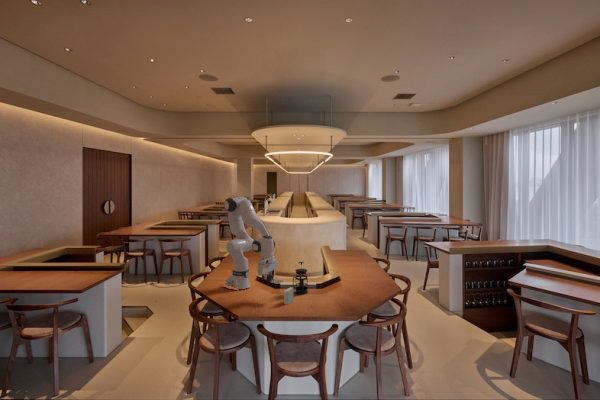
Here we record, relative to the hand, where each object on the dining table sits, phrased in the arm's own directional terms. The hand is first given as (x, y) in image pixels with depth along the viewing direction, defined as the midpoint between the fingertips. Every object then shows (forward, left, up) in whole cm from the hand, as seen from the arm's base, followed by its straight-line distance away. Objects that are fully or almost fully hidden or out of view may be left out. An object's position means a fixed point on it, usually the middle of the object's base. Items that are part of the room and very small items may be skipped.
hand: (267, 278), depth 219 cm
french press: (+16, +21, -15) cm, 30 cm away
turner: (+4, 0, -2) cm, 4 cm away
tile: (+17, 0, -15) cm, 22 cm away
